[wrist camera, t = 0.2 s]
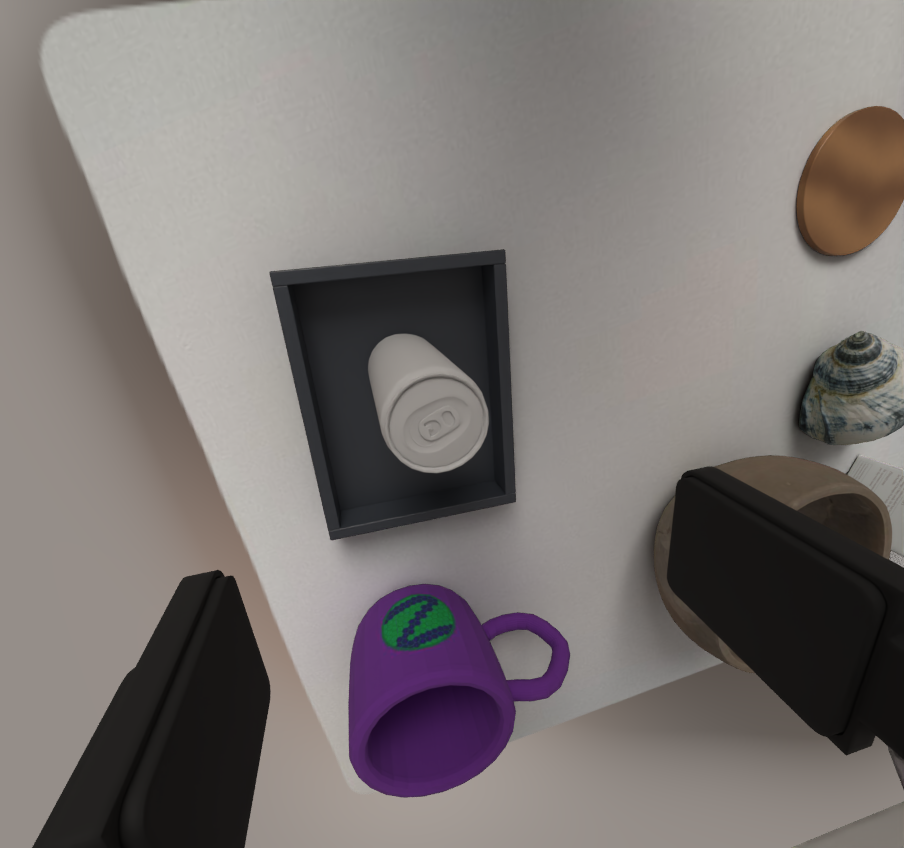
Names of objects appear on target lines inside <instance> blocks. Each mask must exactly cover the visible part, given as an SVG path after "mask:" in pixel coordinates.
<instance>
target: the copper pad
mask: <svg viewBox="0 0 904 848" xmlns="http://www.w3.org/2000/svg"><path fill="white" fill-rule="evenodd" d="M903 200H904V119H903V118H902V117H901V116H900V115H899V114H898V113H897V112H896V111H894V110H892V109H890V108H886V107H882V106H873V107H867V108H864V109H861V110H857V111H854V112H852V113H850V114H848V115H846V116H845V117H843V118H842V119H840V120H839V121H837V122H836V123H835V124H834V125H833V126H832V127H831V128H830V129H829V130H828V131H827V132H826V133H825V134H824V135H823V136H822V138H821V139H820V140H819V142H818V143H817V145H816V146H815V148H814V149H813V151H812V153H811V155H810V157H809V159H808V160H807V163H806V165H805V168H804V170H803V173H802V176H801V179H800V184H799V188H798V194H797V219H798V224H799V228H800V231H801V234H802V236H803V238H804V239H805V241H806V242H807V244H808V245H809V246H810V247H811V248H812V249H814V250H815V251H817V252H819V253H821V254H824V255H829V256H840V255H848V254H851V253H854V252H857V251H859V250H861V249H863V248H865V247H866V246H868V245H869V244H871V243H872V242H873V241H874V240H875V239H877V238H878V237H879V236H880V235H881V234H882V233H883V232H884V230H885V229H886V228H887V227H888V225H889V224H890V223H891V221H892V220H893V218H894V217H895V215H896V214H897V212H898V210H899V208H900V206H901V204H902V202H903Z"/></svg>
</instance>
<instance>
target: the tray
mask: <svg viewBox="0 0 904 848" xmlns="http://www.w3.org/2000/svg"><path fill="white" fill-rule="evenodd" d="M505 263H506V257H505V250H504V249H503V250H493V251H482V252H472V253H461V254H451V255H440V256H429V257H419V258H408V259H398V260H387V261H377V262H366V263H356V264H345V265H334V266H324V267H313V268H303V269H292V270H282V271H271V272H270V277H271V282H272V286H273V291H274V295H275V300H276V304H277V308H278V313H279V317H280V321H281V326H282V330H283V335H284V339H285V343H286V348H287V352H288V356H289V361H290V365H291V370H292V374H293V378H294V383H295V387H296V391H297V396H298V400H299V405H300V409H301V413H302V418H303V422H304V426H305V431H306V435H307V440H308V444H309V448H310V453H311V457H312V461H313V466H314V470H315V475H316V479H317V483H318V488H319V492H320V496H321V501H322V505H323V510H324V514H325V518H326V523H327V527H328V531H329V536H330V540H336V539H341V538H346V537H350V536H355V535H360V534H365V533H370V532H374V531H379V530H384V529H389V528H393V527H398V526H403V525H408V524H413V523H417V522H422V521H427V520H432V519H437V518H441V517H446V516H451V515H456V514H461V513H465V512H470V511H475V510H480V509H485V508H489V507H494V506H499V505H504V504H508V503H513V502H516V489H515V465H514V442H513V418H512V395H511V372H510V348H509V325H508V301H507V278H506V264H505ZM395 334H412V335H416V336H419V337H421V338H424V339H425V340H426V341H427V342H429V343H430V344H431V345H432V346H434V347H435V348H436V349H437V350H438V351H440V352H441V353H442V354H443V355H444V356H445V357H447V358H448V359H449V360H450V361H451V362H452V363H453V364H455V365H456V366H457V367H458V368H459V369H460V370H462V371H463V372H464V373H465V374H466V375H467V376H469V377H470V378H471V379H472V380H473V381H474V382H475V383H476V385H477V386H478V388H479V389H480V390H481V392H482V394H483V397H484V400H485V403H486V405H487V408H488V416H489V425H488V430H487V435H486V437H485V439H484V441H483V444H482V446H481V448H480V449H479V450H478V451H477V452H476V454H475V455H474V456H473V457H472V458H471V459H470V460H468V461H467V462H466V463H464V464H463V465H462V466H459V467H457V468H455V469H452V470H450V471H445V472H440V473H426V472H421V471H418V470H415V469H412V468H410V467H408V466H407V465H405V464H404V463H402V462H401V461H400V460H399V459H398V458H397V457H396V456H395V455H394V453H393V452H392V451H391V450H390V449H389V448H388V446H387V444H386V442H385V440H384V438H383V435H382V432H381V428H380V423H379V419H378V414H377V410H376V406H375V401H374V397H373V392H372V388H371V384H370V379H369V374H368V363H369V358H370V356H371V353H372V351H373V349H374V348H375V347H376V345H377V344H378V343H379V342H380V341H382V340H383V339H385V338H386V337H389V336H392V335H395Z"/></svg>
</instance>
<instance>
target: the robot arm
mask: <svg viewBox="0 0 904 848" xmlns="http://www.w3.org/2000/svg"><path fill="white" fill-rule="evenodd" d="M667 581H668V584H669V587H670V588H671V590H672V591H673V592H674V594H675V595H676V596H677V597H678V598H679V599H680V600H681V601H683V602H684V603H685V604H686V605H687V606H688V607H689V608H690V609H691V610H692V611H693V612H694V613H695V614H696V615H697V616H698V617H699V618H700V619H701V620H702V621H703V622H704V623H705V624H706V625H707V626H708V627H709V628H710V629H711V630H712V631H713V632H714V633H715V634H716V635H717V636H718V637H719V638H720V639H721V640H722V641H723V642H724V643H725V644H726V645H727V646H728V647H729V648H730V649H731V650H732V651H733V652H734V653H735V654H736V655H737V656H738V657H739V658H740V659H741V660H742V661H743V662H744V663H746V664H747V665H748V666H749V667H750V668H751V669H752V670H753V671H754V672H755V673H756V674H757V675H758V676H759V677H760V678H761V679H762V680H763V681H764V682H765V683H766V684H767V685H768V686H769V687H770V688H771V689H772V690H773V691H774V692H775V693H776V694H777V695H778V696H779V697H780V698H781V699H782V700H783V701H784V702H785V703H786V704H787V705H788V706H789V707H790V708H791V709H792V710H793V711H794V712H795V713H796V714H797V715H798V716H799V717H801V719H802V720H803V721H805V723H807V725H809V726H810V727H811V728H812V729H813V730H814V731H815V732H817V733H818V734H820V735H822V736H826V737H828V738H829V739H830V740H831V741H832V742H833V743H834V744H835V745H836V746H837V747H838V748H839V749H840V750H841V751H842V752H843V753H844V754H845V755H848V754H851V753H854V752H857V751H859V750H861V749H864V748H867V747H870V746H871V745H872V743H873V741H874V738H875V736H877V737H878V738H880V739H881V740H882V741H883V742H884V743H885V744H886V745H887V746H888V750H889V753H890V755H891V758H892V760H893V763H894V766H895V768H896V771H897V773H898V776H899V778H900V781H901V783H902V786H903V789H904V568H903V567H901V566H899V565H898V564H896V563H894V562H892V561H890V560H888V559H886V558H884V557H883V556H881V555H879V554H877V553H875V552H873V551H871V550H869V549H868V548H866V547H864V546H862V545H860V544H858V543H856V542H854V541H853V540H851V539H849V538H847V537H845V536H843V535H841V534H839V533H838V532H836V531H834V530H832V529H830V528H828V527H826V526H825V525H823V524H821V523H819V522H817V521H815V520H813V519H811V518H810V517H808V516H806V515H804V514H802V513H800V512H798V511H796V510H795V509H793V508H791V507H789V506H787V505H785V504H783V503H781V502H780V501H778V500H776V499H774V498H772V497H770V496H768V495H766V494H765V493H763V492H761V491H759V490H757V489H755V488H753V487H751V486H750V485H748V484H746V483H744V482H742V481H740V480H738V479H737V478H735V477H733V476H731V475H729V474H727V473H725V472H723V471H722V470H720V469H718V468H715V467H704V468H699V469H694V470H690V471H687V472H685V473H684V474H683V475H682V477H681V480H679V481H678V483H677V486H676V494H675V503H674V513H673V522H672V531H671V540H670V549H669V558H668V568H667ZM269 703H270V683H269V678H268V675H267V672H266V669H265V666H264V663H263V661H262V657H261V654H260V651H259V648H258V645H257V642H256V639H255V636H254V634H253V630H252V628H251V625H250V622H249V619H248V616H247V613H246V610H245V607H244V604H243V601H242V598H241V595H240V592H239V589H238V586H237V583H236V580H235V578H234V577H233V576H226V577H225V576H224V575H223V573H222V572H221V571H219V570H216V571H211V572H207V573H201V574H197V575H192V576H187V577H185V578H183V579H182V581H181V582H180V584H179V586H178V587H177V589H176V591H175V594H174V595H173V597H172V599H171V601H170V603H169V605H168V607H167V608H166V610H165V612H164V614H163V616H162V618H161V620H160V622H159V624H158V625H157V628H156V629H155V631H154V633H153V635H152V637H151V639H150V641H149V643H148V644H147V646H146V648H145V650H144V652H143V654H142V656H141V658H140V660H139V662H138V663H137V665H136V667H135V668H134V669H133V670H131V671H130V672H129V673H128V674H127V675H126V677H125V678H124V680H123V682H122V683H121V685H120V686H119V688H118V690H117V692H116V694H115V696H114V698H113V699H112V701H111V703H110V705H109V707H108V709H107V710H106V712H105V714H104V716H103V718H102V720H101V722H100V723H99V725H98V727H97V729H96V731H95V733H94V735H93V737H92V738H91V740H90V742H89V744H88V746H87V748H86V750H85V751H84V753H83V755H82V757H81V759H80V760H79V762H78V764H77V766H76V768H75V770H74V772H73V773H72V775H71V777H70V779H69V781H68V783H67V784H66V786H65V788H64V790H63V792H62V794H61V796H60V797H59V799H58V801H57V803H56V805H55V807H54V808H53V811H52V812H51V814H50V816H49V818H48V820H47V822H46V824H45V825H44V827H43V829H42V831H41V833H40V835H39V836H38V838H37V840H36V842H35V844H34V846H33V847H32V848H244V847H245V841H246V835H247V830H248V824H249V818H250V813H251V806H252V801H253V795H254V790H255V784H256V778H257V772H258V766H259V761H260V755H261V749H262V743H263V737H264V732H265V726H266V720H267V714H268V709H269ZM792 848H904V802H902V803H899V804H897V805H894V806H892V807H890V808H887V809H885V810H883V811H880V812H877V813H875V814H872V815H870V816H867V817H865V818H863V819H860V820H858V821H855V822H853V823H850V824H848V825H845V826H843V827H840V828H838V829H836V830H833V831H831V832H828V833H826V834H823V835H821V836H819V837H816V838H814V839H811V840H809V841H806V842H804V843H802V844H799V845H797V846H794V847H792Z"/></svg>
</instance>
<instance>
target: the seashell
mask: <svg viewBox="0 0 904 848" xmlns="http://www.w3.org/2000/svg"><path fill="white" fill-rule="evenodd" d="M813 375H814V376H813V377H812V379H811V380H810V383H809V386H808V388H807V391H806V393H805V395H804V398H803V402H802V407H801V411H800V419H799V428H800V429H801V430H802V431H803V432H805V433H806V434H808V435H809V436H811V437H813V438H814V439H818V440H821V441H823V442H825V443H827V444H830V445H851V444H859V443H863V442H869V441H874V440H876V439H879V438H882V437H885V436H887V435H889V434H891V433H893V432H895V431H896V430H898V429H900V428H901V427H902V426H903V425H904V349H902V348H900V347H898V346H895V345H893V344H891V343H889V342H887V341H886V340H884V339H882V338H879V337H877V336H875V335H873V334H870V333H866V332H863V331H860V332H858V333H856V334H854V335H852V336H850V337H848V338H846V339H845V340H843V341H841V342H840V343H839V344H837V345H835V346H833V347H831V348H829V349H827V350H826V351H825V352H823V353H822V355H821V356H820V357H819V358H818V359H817V361H816V363H815V367H814V371H813Z"/></svg>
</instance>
